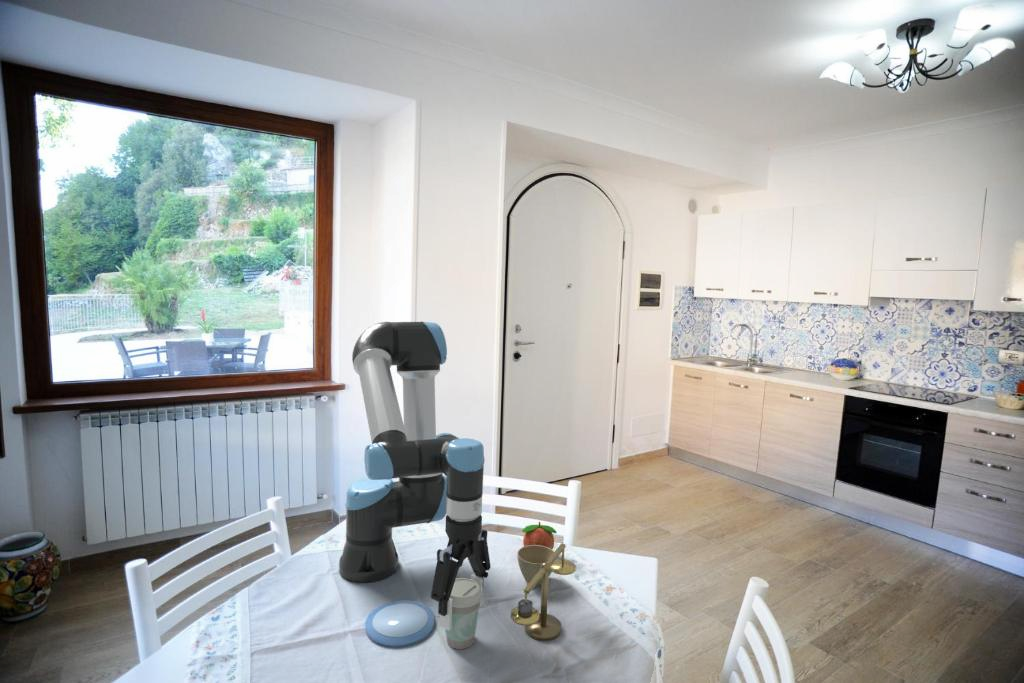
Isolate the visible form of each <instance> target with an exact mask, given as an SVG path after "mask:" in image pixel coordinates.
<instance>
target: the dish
mask: <svg viewBox="0 0 1024 683" xmlns="http://www.w3.org/2000/svg"><path fill="white" fill-rule="evenodd" d="M365 619H366V620H365V623H364V624H365V625H364V627H365V628H364V630H365V634H366V636H367V638H369V639H370V640H371V642H374V643H376V644H377V645H380V646H384V647H392V648H394V647H395V648H396V647H397V648H398V647H406V646H409V645H413V644H417V643H419V642H420V641H422V640H424V639H425V638H427V637H428V636H429V635H430V634H431V633H432V632H433V629H434V626H435V615H434V612H433V611H432V608H430V607H429V606H427V605H426V604H424V603H423V602H422V603H421V602H418V601H415V600H395V601H390V602H387V603H384V604H382V605H380V606H378V607H375V609H373V610H372V611H370V613H369V614H368V616H367V617H366V618H365Z"/></svg>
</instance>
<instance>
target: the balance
mask: <svg viewBox="0 0 1024 683" xmlns="http://www.w3.org/2000/svg"><path fill="white" fill-rule="evenodd" d="M566 547H567V546H566V544H565V543H564V542H562V543H560V544H559V545H558V547H557V548H556V549H555V550H554V553H553V554H552V555H551V557H550V558H549V559H548V560H547V562H545V563H543V564H542V565H541V569H540V570H539V571H538V573H537V574H536V575H535V576H534V578H533V579H532V580H531V581H530V583H528V584H527V585H526V586H525V588H524V589H523V593H524V599H520V600H519V601H518V602H517V603H518V605H517V606H515V607H513V608H512V610H511V611H510V619H511V621H512V622H514V623H515V624H516V625H519V626H524V631H525V633H526V634H527V635H528V636H529V637H530V638H532V639H534V640H537V641H540V642H547V641H548V642H549V641H553V640H556V639H557V638H559V636H560V635H561V633H562V623H561V621H560V620H559V619H558V617H556V616H555V615H552V614H549V613H548V596H549V594H548V593H549V577H550V576H549V570H551V571H552V572H551V573H554V574H557V575H560V576H568V575H569V576H570V575H572V574H574V573H575V572H576V567H577V566H576V564H575V563H574V562H573V561H571V560H569V559H565V550H566ZM560 555H561V558H559V557H560ZM541 578H542V585H541V590H540V591H541V592H540V593H541V595H540V612H539V610H537V608H535V607H533V606H534V603H533V601H532V600H530V599H528V595H529V594H530V593H531V592H532V590H533V589H534V588H535V587H536V586H537V585H536V584H537V583H538V581H539V580H540V579H541Z"/></svg>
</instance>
